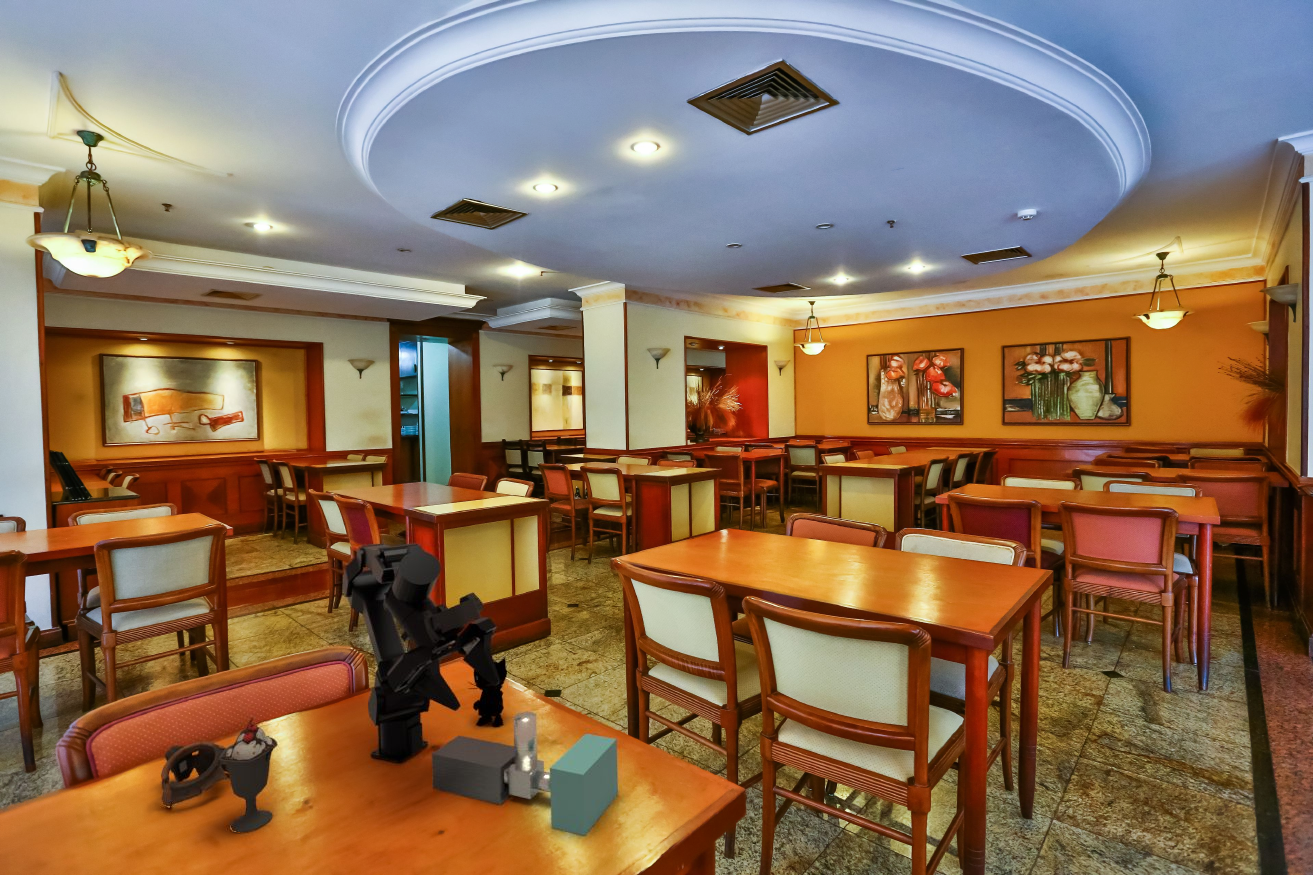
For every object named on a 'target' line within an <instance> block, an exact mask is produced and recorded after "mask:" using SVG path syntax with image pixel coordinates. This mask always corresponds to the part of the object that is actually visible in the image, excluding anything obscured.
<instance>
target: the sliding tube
mask: <svg viewBox="0 0 1313 875" xmlns="http://www.w3.org/2000/svg"><path fill="white" fill-rule="evenodd" d="M537 729H538V728H537V714H536V713H535V712H532V711H523V712H519V713H517V714H515V715H514V716H513V744H514V745H513V746H514V754H515V764H511V765H510V766H509V767H507V768H506V769H505V770H504V783H506V784H509V794H511V796H516V797H520V798H524V799H528V800H531V799H532V798H534V796H536V795H537V793H538V792H540V791H542V792H547V793H550V771H549V772H548V771H545V761H544V760H540V759H538V737H537V736H538V734H537V732H538V731H537Z"/></svg>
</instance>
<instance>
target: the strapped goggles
mask: <svg viewBox="0 0 1313 875" xmlns="http://www.w3.org/2000/svg"><path fill="white" fill-rule="evenodd" d="M226 748H227V747H225V746H223V745H219V744H217V743H215V742H212V741H209V740H208V741H207V740H203V741H202V740H201V741H196V742H192V743H189V744H186V745H185V746H183V745H172V747H170V748H169V749H168V750H167V751H166V753H165V754H164V758H165V761H166V762H165V763H164V766H163V767H162V770H161V773H160V778H161V789H162V794H161V801H162V803H163V805H164V806H165V805H166V806H170V807H171V806H172V805H173V806H174V805H176V804H180V803H183V802H184V801H188V800H191V799H193V798H196V797H199V796H201V795H202V794H203V791H204V792H205V791H208V790H209V789H211V788H212V787H213V786H214V785H216V783H217V782H219V781H221V780H226V779H227V778H228V776H227V774H229V771H228V768H227V765H226V762H224V761H220V760H219V757H220V755H221V753H222V752H223V751H224V750H225V749H226ZM196 752H198V753H196ZM194 753H195V754H194ZM194 769H195V771H196V773H197V776H196V777H195V778H193V779H190V780H188V781H185V780H187V779H189V778H190V776H191V775H192V773H193V771H194ZM170 771H171V772H170ZM170 773H172V774H173V777H174V780H175V781H172V780H171V781H170ZM226 773H227V774H226ZM198 775H199V776H198ZM166 806H165V807H166ZM173 806H172V807H173ZM172 807H171V808H172Z"/></svg>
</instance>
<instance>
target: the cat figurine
mask: <svg viewBox="0 0 1313 875" xmlns="http://www.w3.org/2000/svg"><path fill="white" fill-rule="evenodd" d="M493 661H494V664H495V667H496V670H497V673H498V676H499V679H500V682H499V683H498V684H497V685H496V686H494V685H493V684H491V683H490V682H488V681H487V680H486V679H485V678H484V677H482V676H481V675H480V674H479V673H478V672H477V671H475V670H474V669H473V680H474V683H471V682H470V681H468V680H467V681H466V682H467V683H468V684H470V685H471V686H472V685H473V686H475V687H470V688H469V687H468V688H467V689H469V690H478V689H479V690H480V691H481V694H480V698H479V699H477V700H476V701H475V702H473V706H472V708H473V710H474V711H475V712H477V714H478V716H479V718H478V720H477V722H476V726H477V727H481V726H486V725H488V724H489V723H491V722H492V724H491V727H493V728H500V727H502V726H503V725H504V720H503V716H502V715H501V713H503V710H504V709H505V707H504V699H503V698H504V697H503V694H504V692H503V690H502V688H503V687H504V686H503V685H504V684H505V681H506V678H507V675H508V670H507V665H506V663H507V662H506V657H503V658H502V659H501V660H500V661H499V662H498V661H496V660H493ZM493 717H494V718H493Z"/></svg>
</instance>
